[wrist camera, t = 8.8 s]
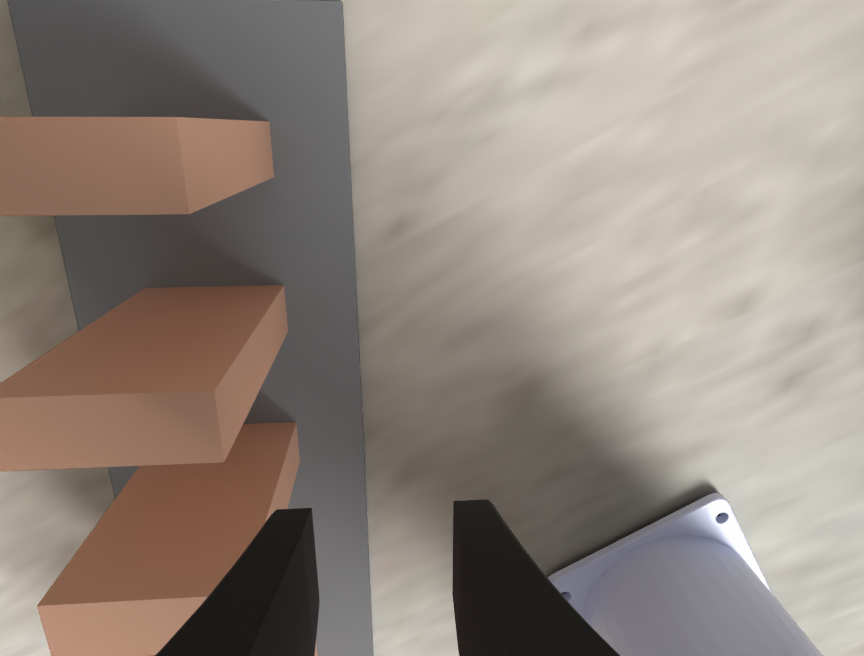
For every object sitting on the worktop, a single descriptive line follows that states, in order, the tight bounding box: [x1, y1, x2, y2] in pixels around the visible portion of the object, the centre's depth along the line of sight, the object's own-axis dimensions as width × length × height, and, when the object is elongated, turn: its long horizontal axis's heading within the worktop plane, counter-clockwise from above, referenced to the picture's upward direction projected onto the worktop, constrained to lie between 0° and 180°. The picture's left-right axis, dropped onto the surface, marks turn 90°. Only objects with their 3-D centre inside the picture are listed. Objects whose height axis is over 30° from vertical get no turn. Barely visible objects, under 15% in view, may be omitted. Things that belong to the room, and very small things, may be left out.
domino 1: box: [0, 117, 274, 216], centre depth 13 cm, size 2×4×8 cm, turn 90°
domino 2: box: [0, 285, 288, 471], centre depth 15 cm, size 2×4×8 cm, turn 90°
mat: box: [8, 0, 374, 656], centre depth 21 cm, size 28×9×1 cm, turn 0°
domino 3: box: [37, 422, 300, 656], centre depth 17 cm, size 2×4×8 cm, turn 90°
